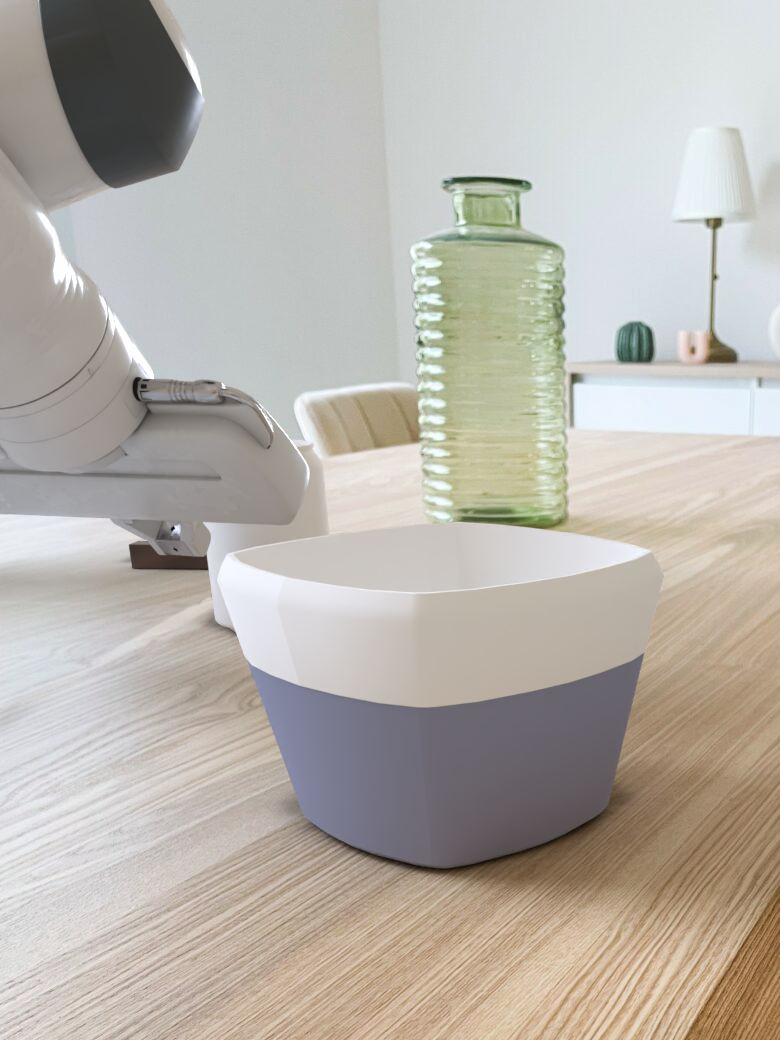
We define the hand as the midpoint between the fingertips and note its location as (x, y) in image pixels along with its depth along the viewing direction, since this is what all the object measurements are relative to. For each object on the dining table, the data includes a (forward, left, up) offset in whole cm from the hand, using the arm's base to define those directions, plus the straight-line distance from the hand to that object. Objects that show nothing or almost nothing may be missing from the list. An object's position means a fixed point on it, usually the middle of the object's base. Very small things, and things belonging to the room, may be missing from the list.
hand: (187, 546), depth 78 cm
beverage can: (+2, +10, -7) cm, 12 cm away
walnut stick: (-11, +32, -7) cm, 34 cm away
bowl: (+21, -26, -7) cm, 34 cm away
